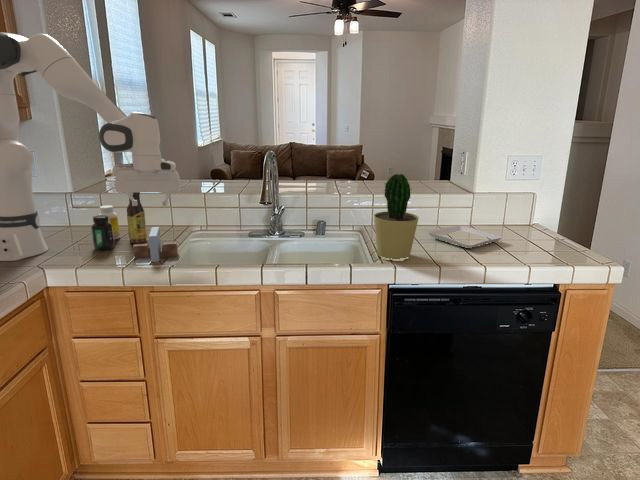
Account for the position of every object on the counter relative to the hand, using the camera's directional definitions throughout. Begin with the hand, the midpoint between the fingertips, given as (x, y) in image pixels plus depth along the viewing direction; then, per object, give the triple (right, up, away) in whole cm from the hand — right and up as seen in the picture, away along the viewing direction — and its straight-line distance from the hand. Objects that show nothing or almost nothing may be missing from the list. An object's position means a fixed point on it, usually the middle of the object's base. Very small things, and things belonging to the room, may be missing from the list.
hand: (150, 205), depth 144 cm
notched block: (0, -17, +6) cm, 18 cm away
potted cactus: (+83, -18, +10) cm, 86 cm away
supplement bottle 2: (-22, -15, +14) cm, 30 cm away
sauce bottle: (-13, -12, +22) cm, 29 cm away
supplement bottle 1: (-26, -11, +26) cm, 38 cm away
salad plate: (+115, -13, +29) cm, 119 cm away
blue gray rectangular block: (0, -17, +6) cm, 18 cm away
